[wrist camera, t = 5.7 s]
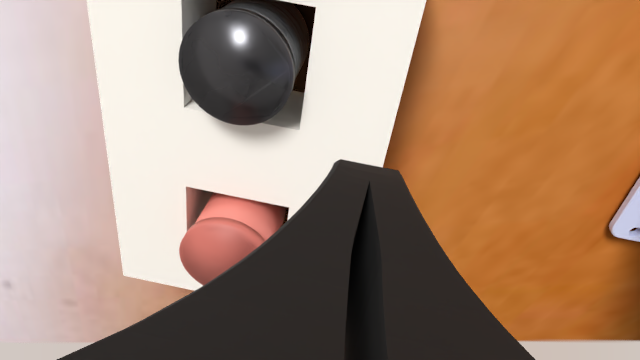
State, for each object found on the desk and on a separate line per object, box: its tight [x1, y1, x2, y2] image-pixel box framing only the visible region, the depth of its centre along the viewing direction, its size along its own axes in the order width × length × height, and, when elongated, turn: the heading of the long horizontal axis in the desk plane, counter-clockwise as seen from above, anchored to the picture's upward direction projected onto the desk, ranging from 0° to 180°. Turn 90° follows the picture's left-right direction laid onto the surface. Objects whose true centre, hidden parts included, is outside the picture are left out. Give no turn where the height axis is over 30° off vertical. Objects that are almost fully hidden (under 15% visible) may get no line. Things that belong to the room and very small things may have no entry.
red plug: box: [179, 192, 286, 285], centre depth 20 cm, size 4×4×4 cm
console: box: [87, 0, 426, 291], centre depth 19 cm, size 11×16×4 cm
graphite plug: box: [178, 0, 309, 125], centre depth 16 cm, size 4×4×4 cm
